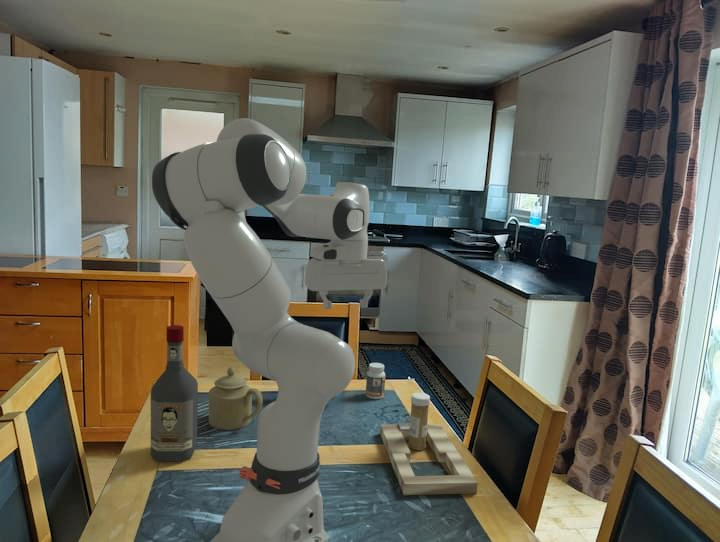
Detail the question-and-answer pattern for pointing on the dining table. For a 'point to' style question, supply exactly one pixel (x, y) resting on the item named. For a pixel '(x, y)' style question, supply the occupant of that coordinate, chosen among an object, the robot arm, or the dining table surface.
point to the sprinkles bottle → (418, 421)
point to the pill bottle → (375, 381)
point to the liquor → (174, 405)
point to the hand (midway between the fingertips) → (345, 307)
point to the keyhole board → (443, 451)
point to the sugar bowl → (232, 402)
